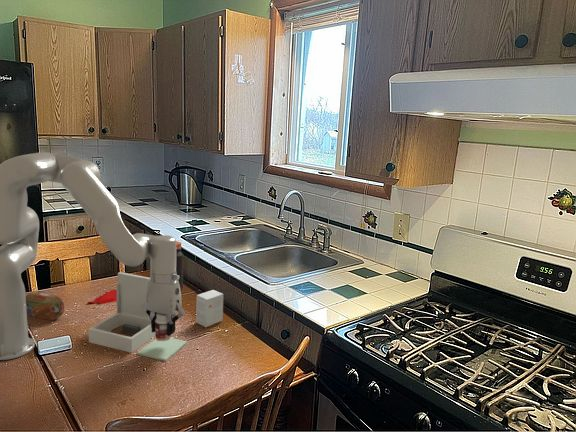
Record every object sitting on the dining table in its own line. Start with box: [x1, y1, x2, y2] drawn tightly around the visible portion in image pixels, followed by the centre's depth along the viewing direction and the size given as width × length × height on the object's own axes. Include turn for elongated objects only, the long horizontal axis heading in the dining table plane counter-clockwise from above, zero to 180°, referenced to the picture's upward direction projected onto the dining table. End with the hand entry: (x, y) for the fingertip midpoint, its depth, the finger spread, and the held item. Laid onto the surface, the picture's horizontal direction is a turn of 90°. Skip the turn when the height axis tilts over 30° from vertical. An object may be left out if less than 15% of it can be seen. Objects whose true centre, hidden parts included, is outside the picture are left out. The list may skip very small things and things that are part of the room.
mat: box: [137, 337, 188, 362], centre depth 137 cm, size 12×10×1 cm
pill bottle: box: [154, 313, 172, 341], centre depth 136 cm, size 5×5×8 cm
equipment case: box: [88, 271, 155, 354], centre depth 141 cm, size 15×16×18 cm
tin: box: [26, 292, 65, 321], centre depth 152 cm, size 15×3×8 cm, turn 76°
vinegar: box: [176, 240, 184, 290], centre depth 184 cm, size 7×7×20 cm
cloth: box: [85, 289, 117, 306], centre depth 175 cm, size 26×14×2 cm, turn 127°
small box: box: [195, 289, 224, 328], centre depth 157 cm, size 8×6×10 cm
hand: (163, 331), depth 136 cm, fingers closed on pill bottle, 4 cm apart
